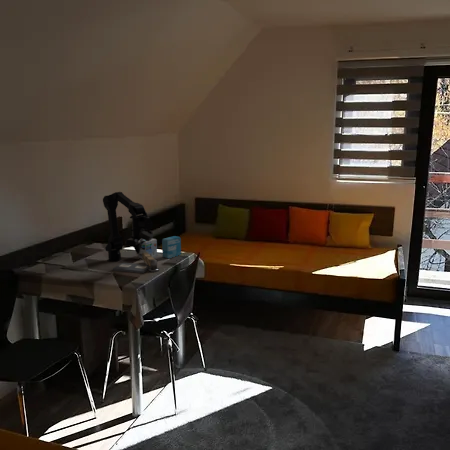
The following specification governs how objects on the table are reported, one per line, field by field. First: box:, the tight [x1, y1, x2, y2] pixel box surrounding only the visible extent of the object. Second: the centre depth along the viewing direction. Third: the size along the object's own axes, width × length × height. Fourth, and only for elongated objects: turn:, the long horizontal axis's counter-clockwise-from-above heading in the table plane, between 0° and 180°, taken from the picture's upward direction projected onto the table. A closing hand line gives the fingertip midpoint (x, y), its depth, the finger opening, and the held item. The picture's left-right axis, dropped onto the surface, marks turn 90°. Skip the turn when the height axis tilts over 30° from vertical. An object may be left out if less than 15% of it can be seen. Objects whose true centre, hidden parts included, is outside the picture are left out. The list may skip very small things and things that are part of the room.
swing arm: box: [141, 252, 158, 269], centre depth 278 cm, size 21×4×5 cm, turn 24°
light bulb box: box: [137, 238, 158, 259], centre depth 299 cm, size 11×7×11 cm, turn 148°
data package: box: [161, 235, 182, 259], centre depth 300 cm, size 12×4×12 cm, turn 141°
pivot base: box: [148, 267, 160, 273], centre depth 271 cm, size 6×6×1 cm
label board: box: [112, 262, 151, 274], centre depth 275 cm, size 19×12×1 cm, turn 74°
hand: (138, 253), depth 275 cm, fingers closed
